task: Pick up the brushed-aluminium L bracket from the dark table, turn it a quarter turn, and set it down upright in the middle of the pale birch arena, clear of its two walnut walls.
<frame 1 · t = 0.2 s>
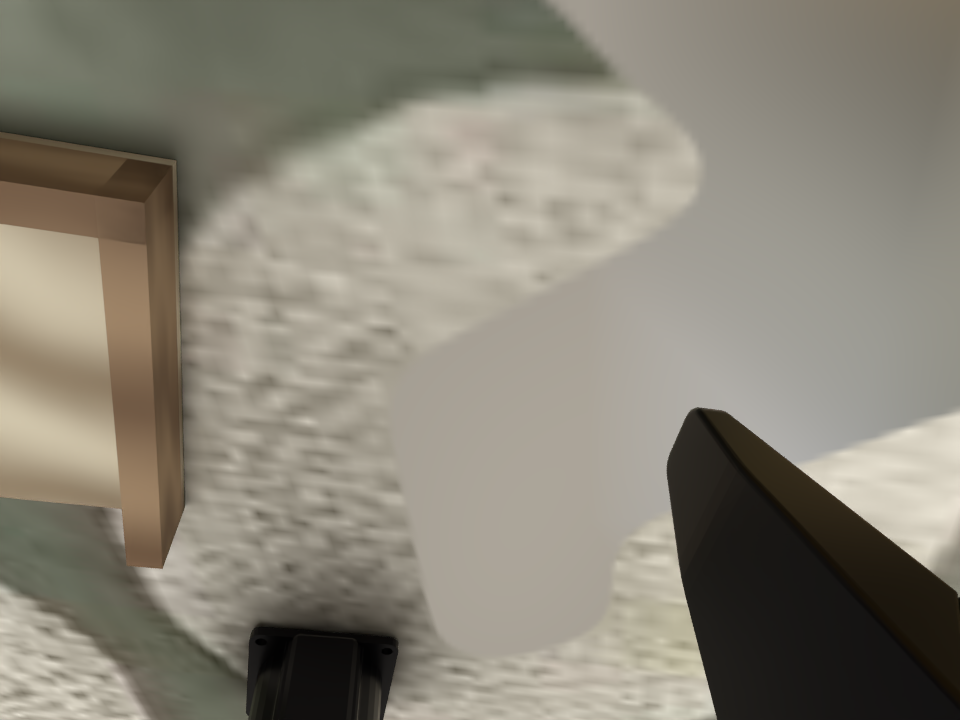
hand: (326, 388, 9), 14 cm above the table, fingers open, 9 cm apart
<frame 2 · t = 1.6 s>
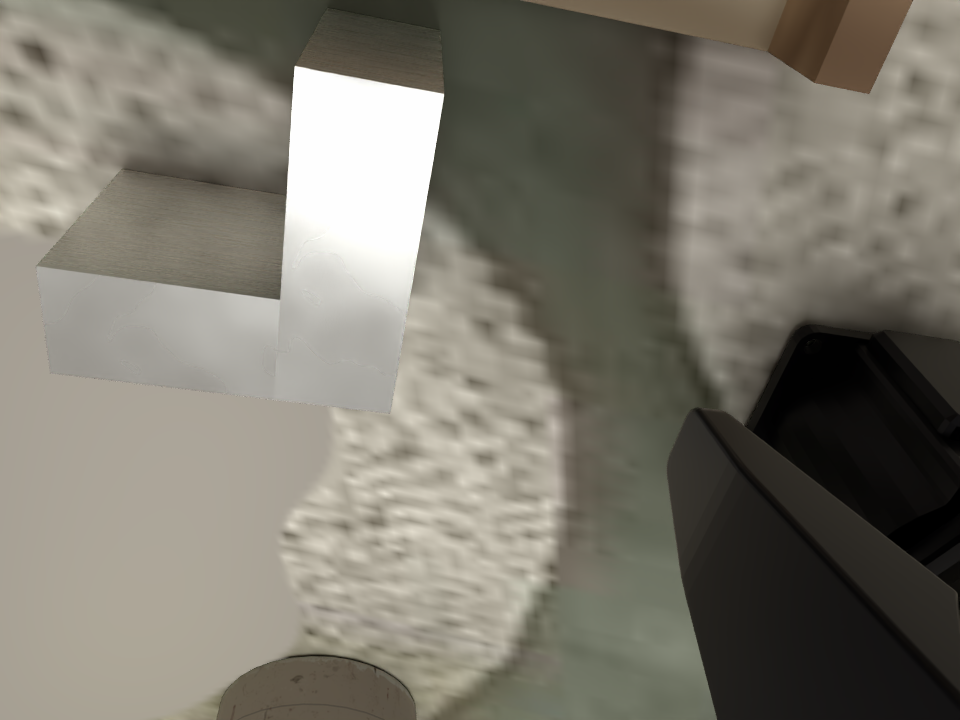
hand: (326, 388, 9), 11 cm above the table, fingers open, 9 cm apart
thermos bottle: (320, 708, 32), on the table
bracket: (272, 154, 19), on the table
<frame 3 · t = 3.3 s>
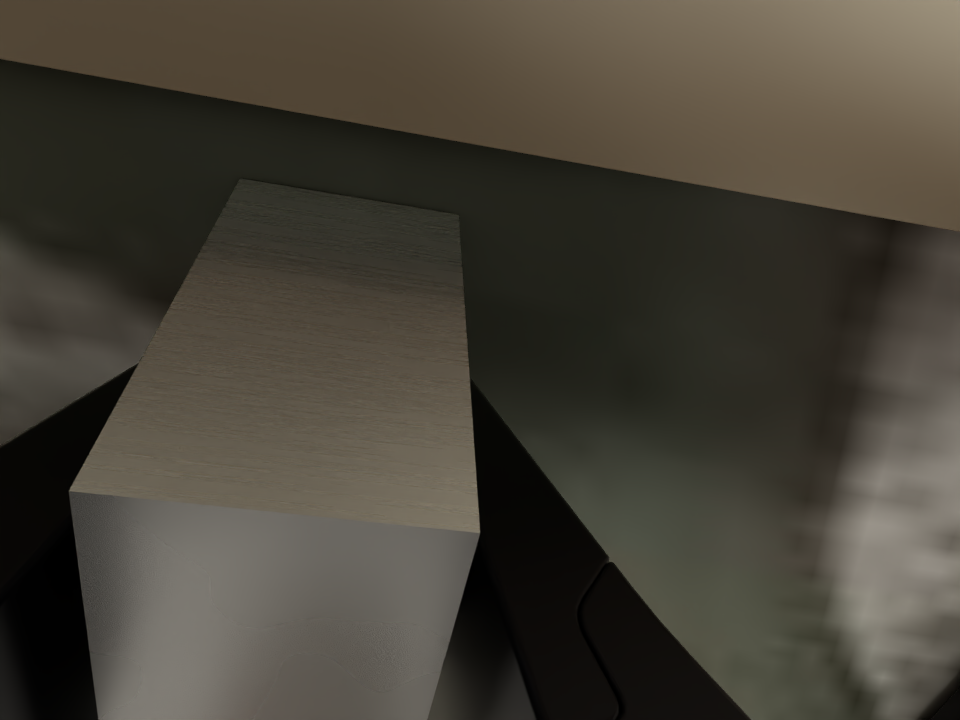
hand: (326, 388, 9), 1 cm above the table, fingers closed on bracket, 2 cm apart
bracket: (157, 409, 10), on the table, touching gripper
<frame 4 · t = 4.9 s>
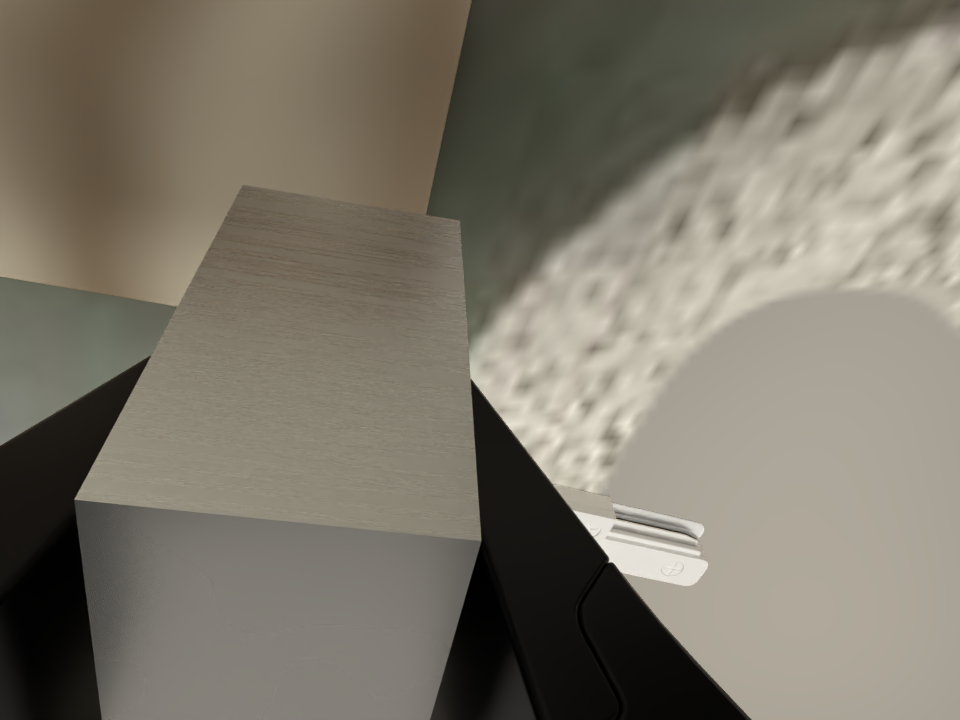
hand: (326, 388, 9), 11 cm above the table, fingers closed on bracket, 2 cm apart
bracket: (159, 413, 11), point 10 cm above the table, touching gripper
arena: (137, 16, 17), on the table
corner connector: (568, 558, 29), on the table
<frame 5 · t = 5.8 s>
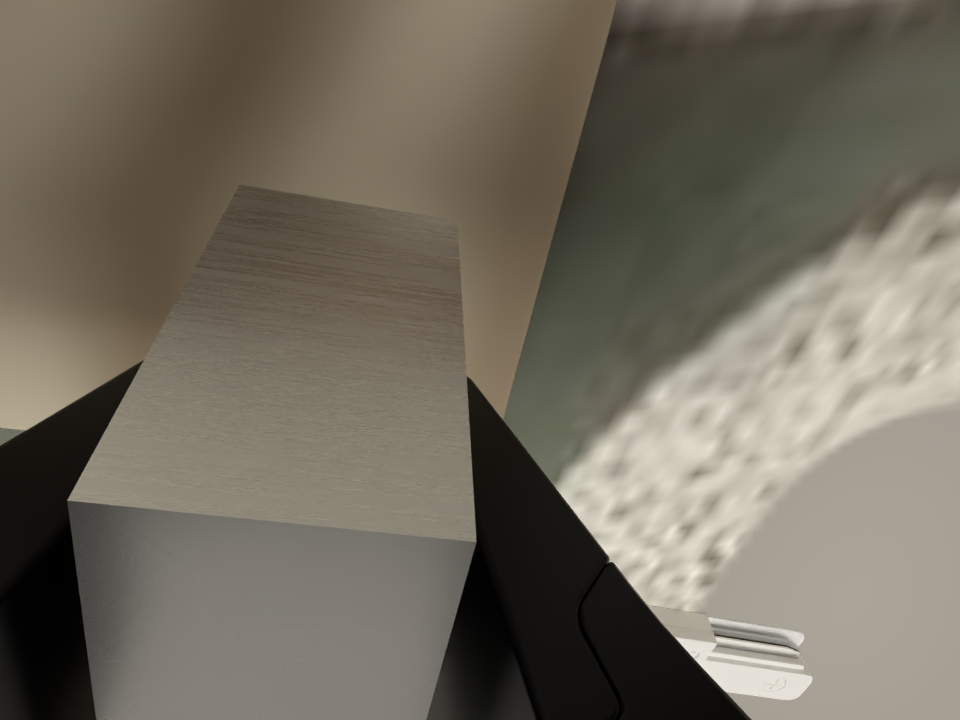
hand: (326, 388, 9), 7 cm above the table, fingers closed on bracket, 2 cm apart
bracket: (157, 414, 11), point 6 cm above the table, touching gripper
arena: (205, 165, 15), on the table
corner connector: (655, 669, 27), on the table
when the fingers open (3 cm above the table, at t = 6.7 s): bracket drops 2 cm, resting on arena.
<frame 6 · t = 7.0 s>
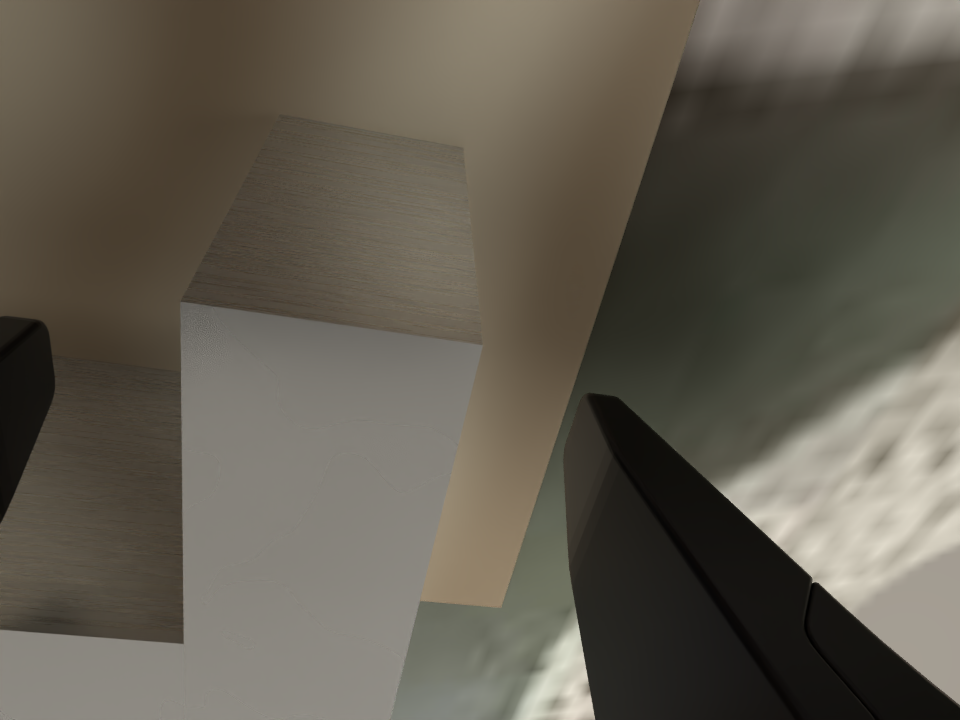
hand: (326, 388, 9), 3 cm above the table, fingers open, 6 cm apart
bracket: (201, 322, 12), resting on arena
arena: (148, 254, 12), on the table
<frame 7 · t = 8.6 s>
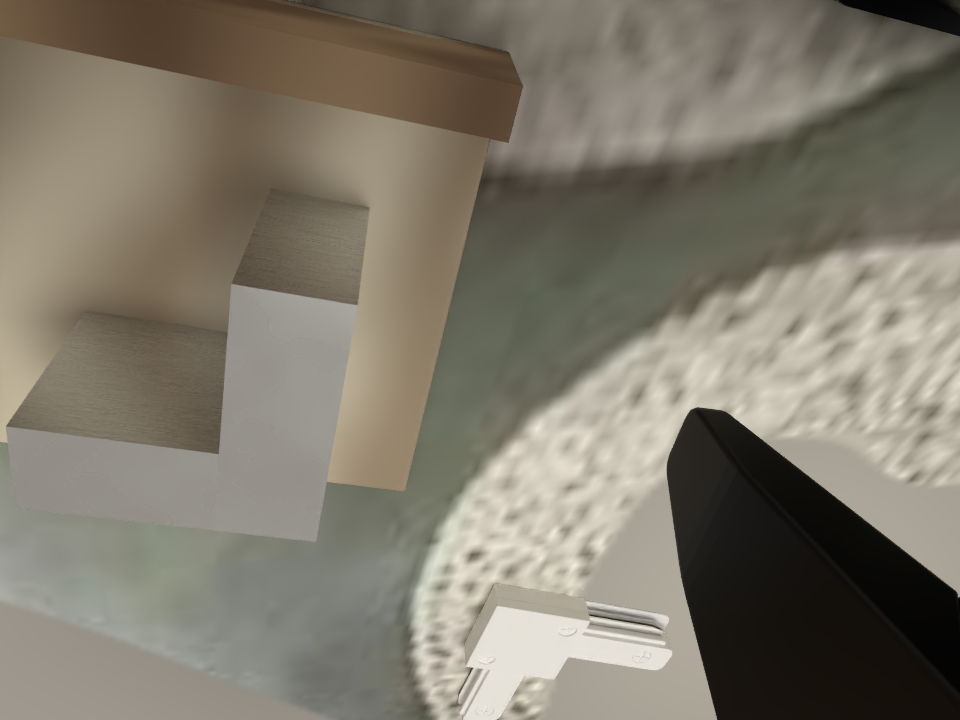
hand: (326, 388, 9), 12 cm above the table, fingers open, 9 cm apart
bracket: (221, 300, 21), resting on arena
arena: (193, 260, 21), on the table
corner connector: (551, 645, 33), on the table
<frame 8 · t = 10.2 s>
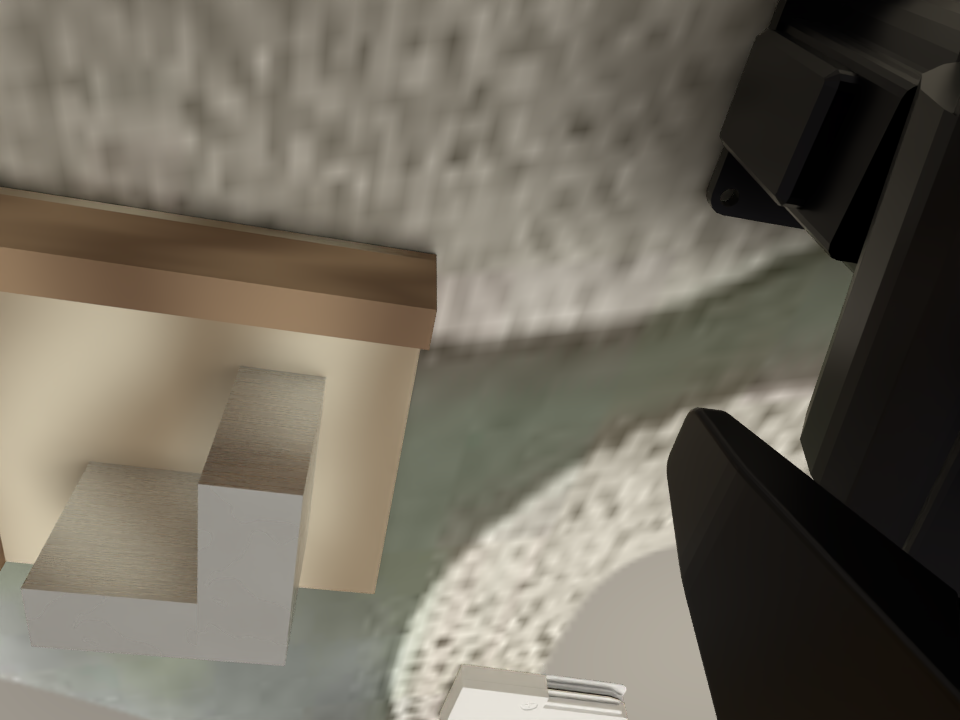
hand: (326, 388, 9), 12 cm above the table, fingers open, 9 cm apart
bracket: (204, 450, 25), resting on arena
arena: (178, 418, 24), on the table
corner connector: (521, 711, 36), on the table
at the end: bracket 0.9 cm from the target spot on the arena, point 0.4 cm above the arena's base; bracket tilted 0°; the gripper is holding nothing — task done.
